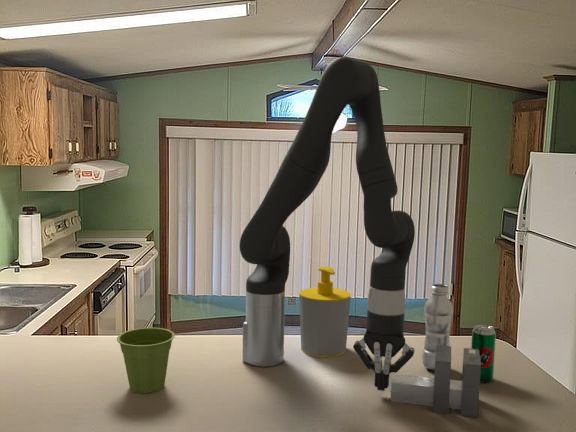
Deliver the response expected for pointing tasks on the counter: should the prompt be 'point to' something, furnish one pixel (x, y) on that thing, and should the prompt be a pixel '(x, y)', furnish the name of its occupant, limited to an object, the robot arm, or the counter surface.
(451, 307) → the plastic bottle
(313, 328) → the soap bottle
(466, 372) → the collar
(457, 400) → the pale grey rectangular bar
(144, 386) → the plant pot
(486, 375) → the soda can
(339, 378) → the counter surface
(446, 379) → the collar
